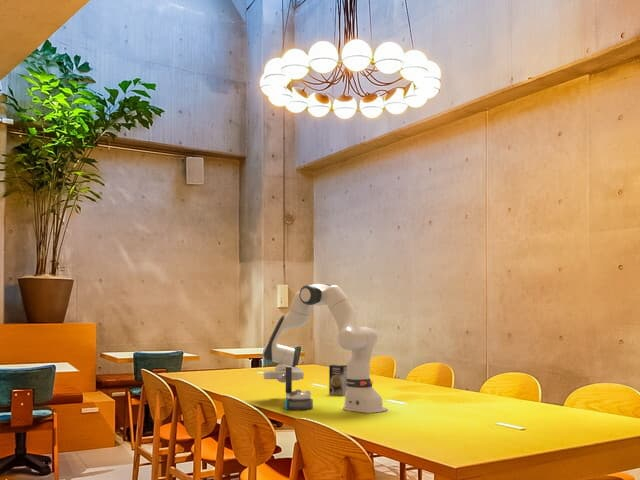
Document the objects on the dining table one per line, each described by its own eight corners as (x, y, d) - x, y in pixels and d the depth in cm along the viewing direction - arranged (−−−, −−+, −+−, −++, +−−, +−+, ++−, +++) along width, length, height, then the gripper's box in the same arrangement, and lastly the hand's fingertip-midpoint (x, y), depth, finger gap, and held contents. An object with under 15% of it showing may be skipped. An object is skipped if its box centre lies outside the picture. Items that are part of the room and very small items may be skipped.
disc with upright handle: (297, 396, 332) (297, 364, 333) (315, 399, 324) (315, 365, 325) (277, 400, 321) (277, 366, 322) (295, 402, 313) (295, 368, 314)
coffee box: (328, 394, 368) (328, 365, 370) (333, 393, 374) (333, 364, 376) (343, 395, 364) (343, 365, 366) (348, 394, 370) (348, 364, 371)
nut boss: (318, 408, 322) (318, 398, 322) (293, 411, 312) (293, 400, 313) (301, 404, 333) (301, 394, 333) (276, 407, 323) (276, 397, 324)
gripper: (263, 367, 345) (263, 370, 331) (302, 367, 346) (304, 370, 333) (263, 379, 344) (263, 383, 330) (302, 379, 346) (304, 383, 332)
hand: (284, 376), depth 331 cm, fingers closed
